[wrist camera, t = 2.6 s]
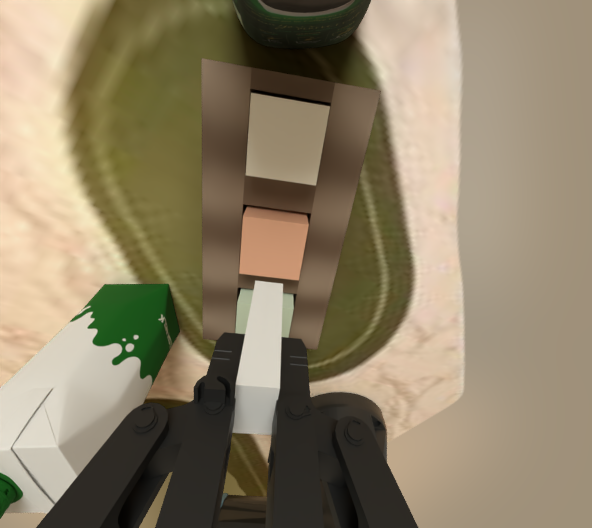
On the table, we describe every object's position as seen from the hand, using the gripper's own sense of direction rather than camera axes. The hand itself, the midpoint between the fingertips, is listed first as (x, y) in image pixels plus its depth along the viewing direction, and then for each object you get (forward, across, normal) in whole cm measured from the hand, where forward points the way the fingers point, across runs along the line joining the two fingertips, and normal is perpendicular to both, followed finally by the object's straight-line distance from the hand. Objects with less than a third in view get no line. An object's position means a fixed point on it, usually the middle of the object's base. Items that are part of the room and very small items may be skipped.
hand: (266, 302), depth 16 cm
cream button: (+11, 0, -8) cm, 13 cm away
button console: (+15, 0, 0) cm, 15 cm away
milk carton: (+15, +14, +14) cm, 24 cm away
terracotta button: (+11, 0, 0) cm, 11 cm away
